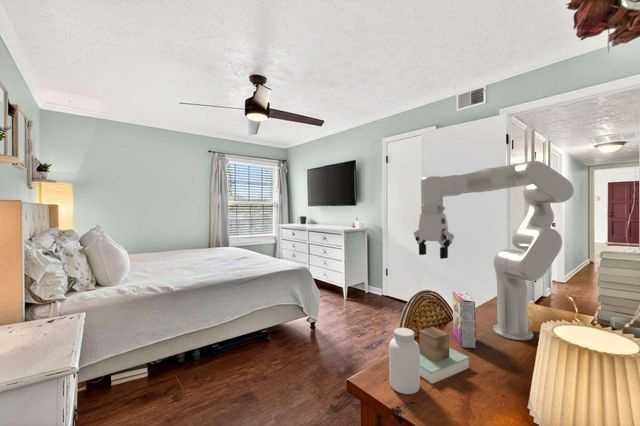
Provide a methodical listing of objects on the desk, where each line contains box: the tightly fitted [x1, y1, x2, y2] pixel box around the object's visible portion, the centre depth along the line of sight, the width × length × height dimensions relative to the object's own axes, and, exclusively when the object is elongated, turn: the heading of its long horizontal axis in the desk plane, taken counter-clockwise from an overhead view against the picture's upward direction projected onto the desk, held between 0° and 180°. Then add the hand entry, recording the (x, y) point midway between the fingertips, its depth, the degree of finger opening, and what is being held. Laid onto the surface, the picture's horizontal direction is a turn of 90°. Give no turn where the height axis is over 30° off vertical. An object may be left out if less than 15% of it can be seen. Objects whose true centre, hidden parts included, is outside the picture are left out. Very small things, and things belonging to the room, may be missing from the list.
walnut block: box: [418, 326, 450, 362], centre depth 87 cm, size 6×6×7 cm
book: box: [419, 346, 470, 385], centre depth 87 cm, size 12×16×4 cm
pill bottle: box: [388, 327, 421, 395], centre depth 78 cm, size 8×8×15 cm
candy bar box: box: [452, 291, 477, 349], centre depth 102 cm, size 11×5×16 cm, turn 168°
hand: (432, 256), depth 105 cm, fingers open, 9 cm apart
